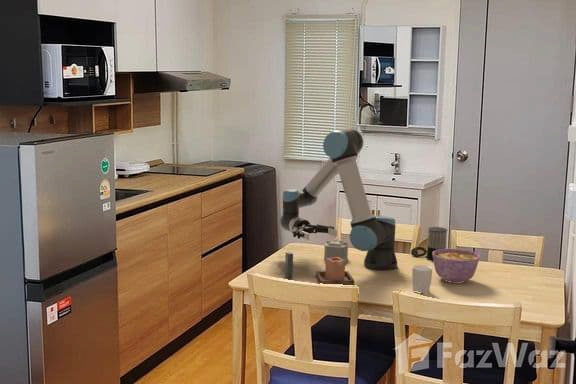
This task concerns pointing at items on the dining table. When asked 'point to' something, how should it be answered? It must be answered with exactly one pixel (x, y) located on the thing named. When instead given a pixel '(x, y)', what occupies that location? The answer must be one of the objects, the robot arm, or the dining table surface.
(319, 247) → the dining table surface
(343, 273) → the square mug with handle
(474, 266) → the bowl of food
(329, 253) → the lumpy-topped squat cylinder
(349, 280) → the tray
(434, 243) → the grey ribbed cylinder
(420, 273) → the white cup
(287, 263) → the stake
